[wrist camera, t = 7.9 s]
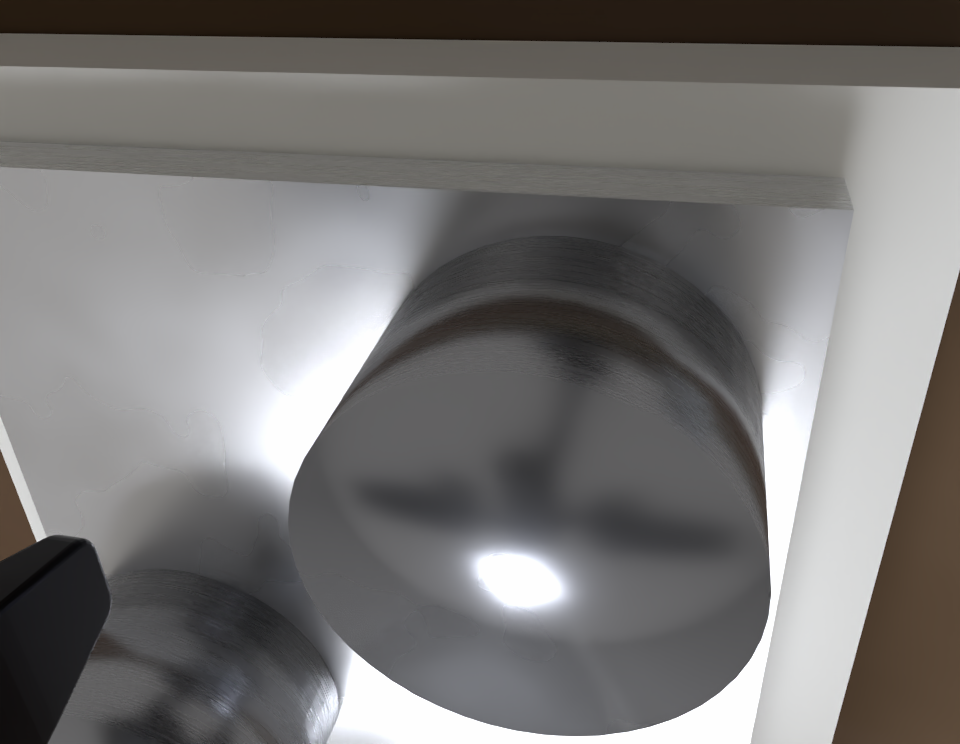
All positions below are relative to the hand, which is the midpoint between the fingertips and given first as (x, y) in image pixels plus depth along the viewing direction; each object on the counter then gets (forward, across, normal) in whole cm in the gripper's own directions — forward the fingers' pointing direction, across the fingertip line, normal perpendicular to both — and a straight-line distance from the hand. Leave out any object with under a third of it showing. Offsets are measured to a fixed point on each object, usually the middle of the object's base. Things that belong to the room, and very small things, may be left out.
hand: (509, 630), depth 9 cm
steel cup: (+4, 0, 0) cm, 4 cm away
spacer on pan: (+4, +6, +6) cm, 10 cm away
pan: (+5, +3, +3) cm, 6 cm away
